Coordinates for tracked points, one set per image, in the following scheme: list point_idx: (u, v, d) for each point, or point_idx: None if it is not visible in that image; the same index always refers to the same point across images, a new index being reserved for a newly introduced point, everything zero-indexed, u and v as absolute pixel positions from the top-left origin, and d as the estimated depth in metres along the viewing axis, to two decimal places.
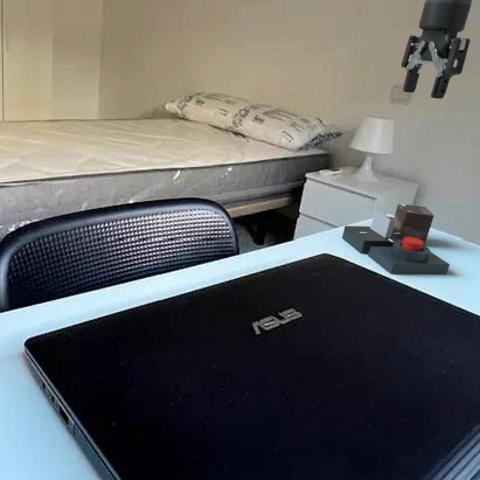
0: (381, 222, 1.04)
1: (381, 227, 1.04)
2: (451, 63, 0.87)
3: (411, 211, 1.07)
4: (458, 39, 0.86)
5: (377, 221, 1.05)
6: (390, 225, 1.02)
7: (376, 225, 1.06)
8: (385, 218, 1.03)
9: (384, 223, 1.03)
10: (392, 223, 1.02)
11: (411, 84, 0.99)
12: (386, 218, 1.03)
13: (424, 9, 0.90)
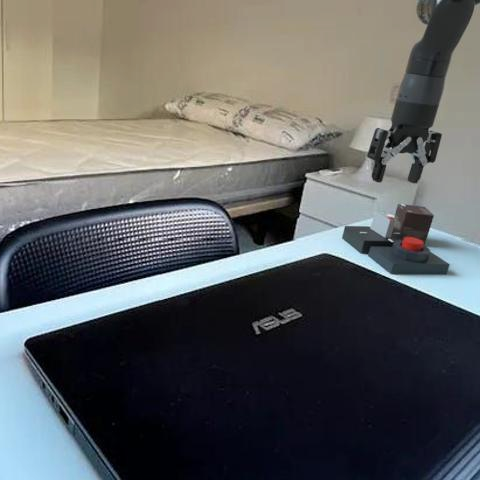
0: (381, 222, 1.04)
1: (381, 227, 1.04)
2: (369, 149, 0.98)
3: (411, 211, 1.07)
4: (376, 129, 0.96)
5: (377, 221, 1.05)
6: (390, 225, 1.02)
7: (376, 225, 1.06)
8: (385, 218, 1.03)
9: (384, 223, 1.03)
10: (392, 223, 1.02)
11: (412, 175, 1.02)
12: (386, 218, 1.03)
13: None
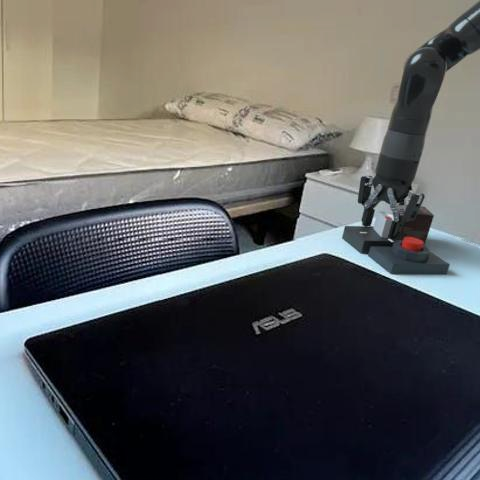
0: (380, 222, 1.04)
1: (380, 227, 1.04)
2: (365, 194, 1.10)
3: None
4: None
5: (378, 221, 1.06)
6: (387, 225, 1.02)
7: (377, 225, 1.06)
8: (383, 218, 1.03)
9: (382, 223, 1.03)
10: (389, 223, 1.02)
11: None
12: (384, 218, 1.03)
13: None
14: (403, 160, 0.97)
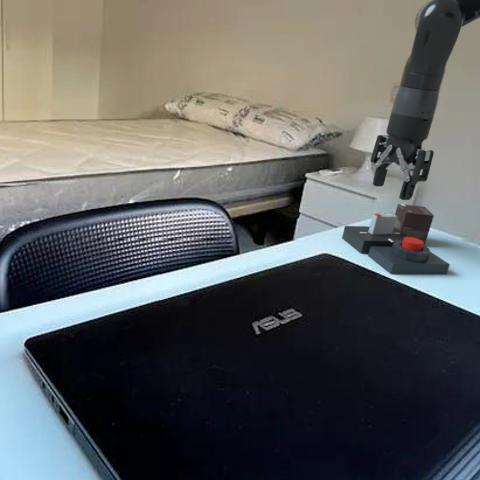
0: None
1: None
2: (381, 154, 1.07)
3: (411, 211, 1.07)
4: None
5: None
6: (372, 221, 1.04)
7: None
8: None
9: None
10: (374, 219, 1.04)
11: None
12: None
13: None
14: (410, 117, 0.93)
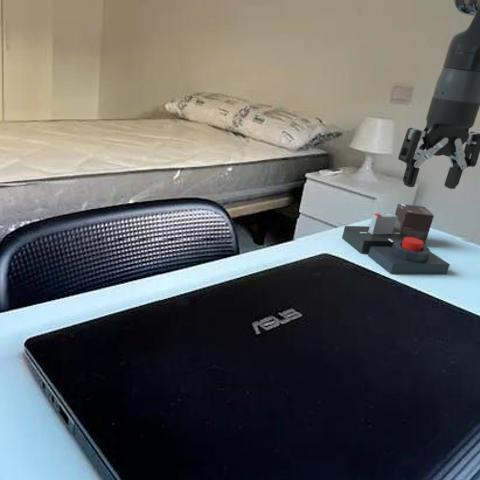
0: None
1: None
2: None
3: (411, 211, 1.07)
4: (408, 129, 0.89)
5: None
6: (372, 221, 1.04)
7: None
8: None
9: None
10: (374, 219, 1.04)
11: (450, 179, 0.93)
12: None
13: None
14: None
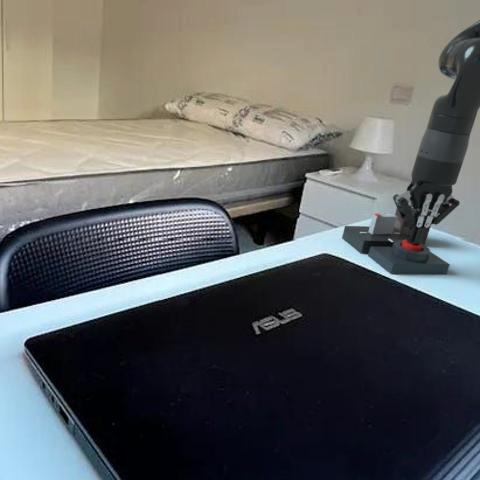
0: None
1: None
2: None
3: None
4: (393, 198, 0.93)
5: None
6: (372, 221, 1.04)
7: None
8: None
9: None
10: (374, 219, 1.04)
11: None
12: None
13: None
14: (462, 162, 0.89)
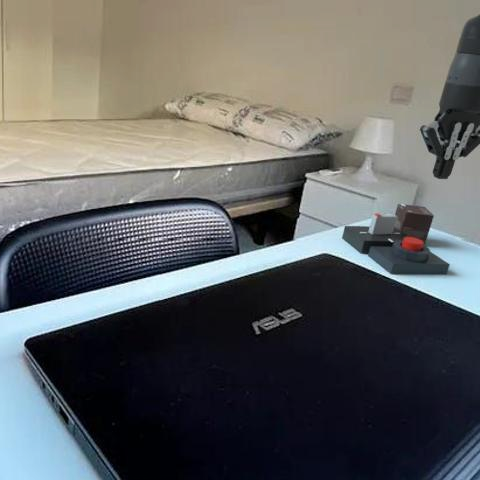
0: None
1: None
2: None
3: (411, 211, 1.07)
4: (420, 129, 0.90)
5: None
6: (372, 221, 1.04)
7: None
8: None
9: None
10: (374, 219, 1.04)
11: None
12: None
13: None
14: None
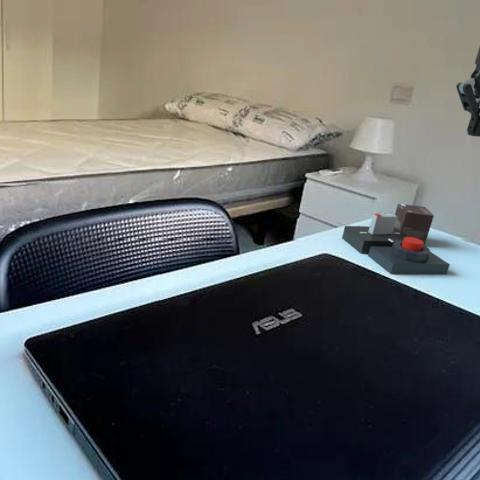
0: None
1: None
2: (462, 104, 0.95)
3: (411, 211, 1.07)
4: (457, 86, 0.93)
5: None
6: (372, 221, 1.04)
7: None
8: None
9: None
10: (374, 219, 1.04)
11: None
12: None
13: None
14: None
